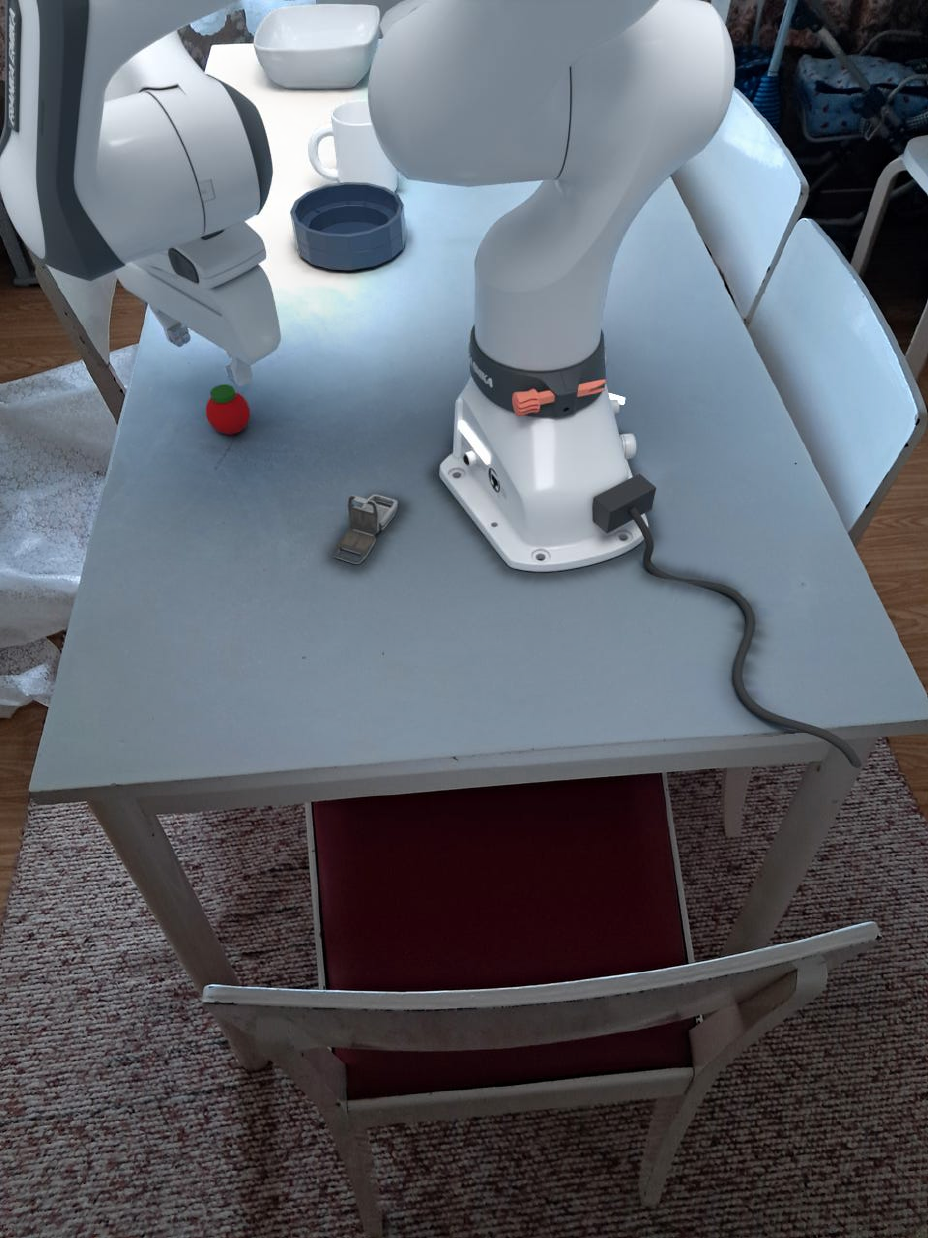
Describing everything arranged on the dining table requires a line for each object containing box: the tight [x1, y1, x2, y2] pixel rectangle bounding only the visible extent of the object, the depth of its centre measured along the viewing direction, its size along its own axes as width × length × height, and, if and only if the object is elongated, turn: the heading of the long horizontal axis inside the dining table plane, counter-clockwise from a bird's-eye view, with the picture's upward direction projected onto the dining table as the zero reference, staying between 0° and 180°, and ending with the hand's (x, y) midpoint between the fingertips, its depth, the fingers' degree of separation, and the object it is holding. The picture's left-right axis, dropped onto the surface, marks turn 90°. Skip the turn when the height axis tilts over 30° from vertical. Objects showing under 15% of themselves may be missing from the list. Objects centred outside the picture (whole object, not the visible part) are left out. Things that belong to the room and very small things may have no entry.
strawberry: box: [205, 383, 251, 435], centre depth 89 cm, size 4×4×5 cm
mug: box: [307, 99, 398, 193], centre depth 120 cm, size 12×8×10 cm
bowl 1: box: [253, 3, 381, 90], centre depth 148 cm, size 20×20×8 cm
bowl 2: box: [289, 182, 407, 271], centre depth 112 cm, size 14×14×5 cm
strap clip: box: [332, 493, 399, 565], centre depth 80 cm, size 8×3×4 cm, turn 157°
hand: (210, 360), depth 84 cm, fingers open, 8 cm apart
